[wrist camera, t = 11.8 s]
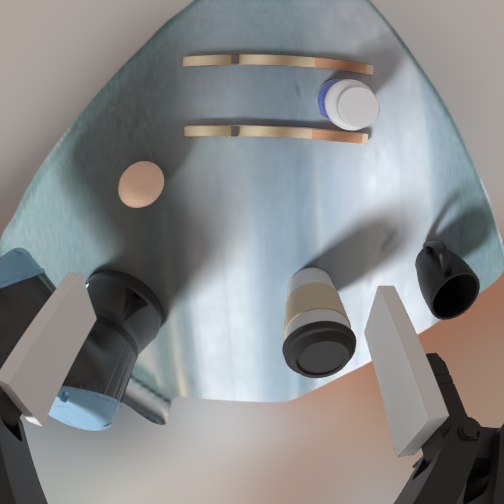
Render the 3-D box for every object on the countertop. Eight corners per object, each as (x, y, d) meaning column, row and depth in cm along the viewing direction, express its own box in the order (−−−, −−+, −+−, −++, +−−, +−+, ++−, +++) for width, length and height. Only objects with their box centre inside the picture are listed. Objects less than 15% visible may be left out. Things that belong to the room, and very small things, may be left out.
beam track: (186, 135, 38) (184, 137, 36) (185, 57, 33) (182, 56, 31) (365, 142, 37) (368, 144, 36) (371, 65, 32) (374, 65, 31)
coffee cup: (350, 273, 47) (375, 347, 34) (320, 316, 51) (333, 391, 38) (296, 252, 45) (307, 327, 32) (270, 298, 50) (270, 376, 37)
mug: (441, 207, 41) (474, 238, 32) (455, 267, 46) (481, 303, 37) (394, 230, 43) (419, 267, 35) (413, 289, 48) (434, 328, 40)
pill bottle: (316, 122, 36) (331, 136, 28) (312, 79, 33) (328, 79, 25) (359, 121, 36) (386, 136, 27) (357, 78, 33) (385, 80, 25)
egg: (179, 177, 40) (160, 200, 33) (151, 200, 42) (129, 227, 35) (153, 146, 38) (128, 164, 31) (126, 171, 40) (98, 193, 33)
